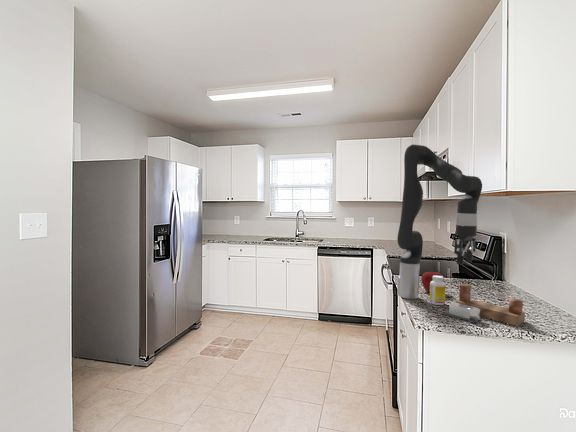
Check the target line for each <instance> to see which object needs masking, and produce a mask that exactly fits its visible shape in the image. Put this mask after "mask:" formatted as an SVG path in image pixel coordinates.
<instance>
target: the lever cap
mask: <svg viewBox="0 0 576 432" xmlns="http://www.w3.org/2000/svg"><path fill="white" fill-rule="evenodd" d="M448 311H449V314H451V315H455V316H458V317H462V318H466V319H469V320H474V321H477V322H479V321H481V320H480V318H481V317H480V309H479V308H476V307H472V306H468V305H464V304H460V303H456V301H454V302H452V303H450V304H449V307H448ZM478 320H479V321H478Z"/></svg>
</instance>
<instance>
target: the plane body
mask: <svg viewBox="0 0 576 432" xmlns="http://www.w3.org/2000/svg"><path fill="white" fill-rule="evenodd" d="M471 289H472V285H471V284H468V283H461V284H459V296H458V297H459V299H458V300H455V302H456V303H460V304H464V305H468V306H472V307H476V308H479V309H480V318H484V319H486V318H488V319H487V320H490V319H492V320H491V321H494V320H496V321H495V322H498V321H500V322H499V323H501V322H504V323H503V324H505V323H508V324H507V325H509V324H512V325H511V326H513V325H516V326H515V327H517V326H518V325H519V324H520V325H522V324H524V323H525V322H526V321H525V319H526V311H523V306H524V305H523V304H524V300H522V299H519V298H509V301H508V307H506V306H502V305H497V304H492V303H488V302H483V301H479V300H475V299H471V292H472V290H471ZM524 321H525V322H524ZM521 323H522V324H521ZM520 325H519V326H520ZM519 326H518V327H519Z"/></svg>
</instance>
